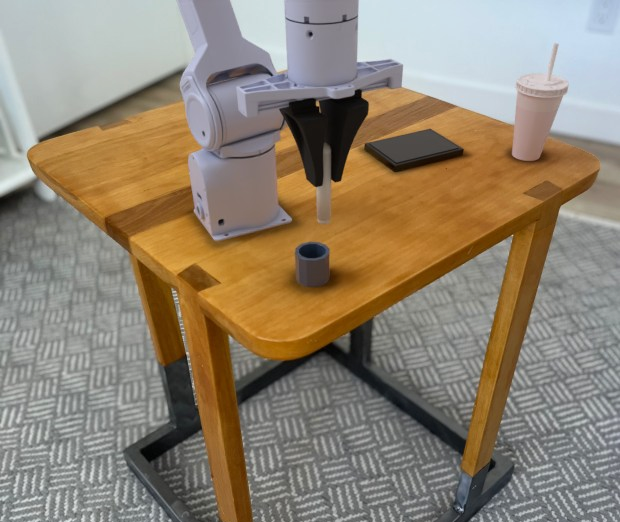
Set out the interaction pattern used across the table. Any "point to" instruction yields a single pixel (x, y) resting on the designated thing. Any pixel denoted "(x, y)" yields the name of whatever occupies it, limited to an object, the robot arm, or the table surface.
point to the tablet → (413, 149)
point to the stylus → (325, 189)
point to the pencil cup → (312, 264)
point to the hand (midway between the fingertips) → (323, 180)
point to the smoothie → (536, 110)
